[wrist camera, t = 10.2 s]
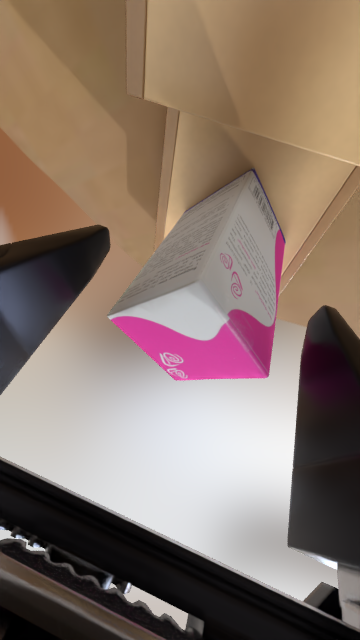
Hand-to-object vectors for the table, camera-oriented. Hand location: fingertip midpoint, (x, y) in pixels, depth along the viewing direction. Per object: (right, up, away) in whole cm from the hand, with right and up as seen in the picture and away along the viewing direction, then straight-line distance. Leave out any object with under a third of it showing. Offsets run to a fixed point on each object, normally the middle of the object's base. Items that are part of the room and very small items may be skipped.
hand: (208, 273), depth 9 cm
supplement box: (+3, +5, +8) cm, 10 cm away
